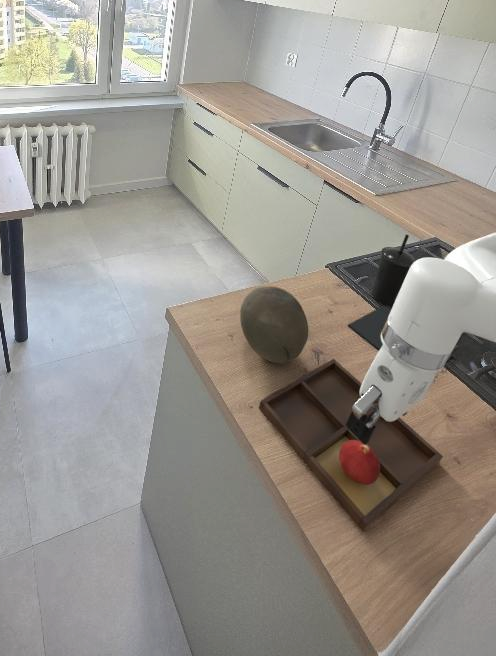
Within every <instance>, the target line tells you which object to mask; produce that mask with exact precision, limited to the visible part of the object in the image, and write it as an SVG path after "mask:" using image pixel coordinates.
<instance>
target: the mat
mask: <svg viewBox="0 0 496 656" xmlns="http://www.w3.org/2000/svg"><path fill="white" fill-rule="evenodd" d="M390 312H391V309H390V308H388V307H387V306H385V305H381V307H379V308H377V309H375V310H372V311H371V312H369V313H367V314H365V315H363V316H361V317H360V318H358V319H355V321H352V322H350V323H349V324H348V325H347V327H348V328H350V329H351V330H352V331H353V332H355V333H356V334H358V336H360V338H362V339H364V340H365V341H366V342H367V343H369V344H370V345H371V346H372V347H374V349H376V350H377V351H379V350H380V349H381V347H382V345H383V343H382V341H381V332H382V330H383V328H384V325H385V323H386V321H387V319H388V316H389V314H390ZM453 357H454V353H452V352H451V354H450V356H449V358H450V359H452V358H453ZM449 358H448V360H447V361H449V360H450V359H449Z"/></svg>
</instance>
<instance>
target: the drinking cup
mask: <svg viewBox="0 0 496 656" xmlns="http://www.w3.org/2000/svg"><path fill="white" fill-rule="evenodd" d="M409 237H410V235H409V234H405V235H404V238H403V241H402V243H401V246H400V248H398V247H393V246H385V247H383V248H381V250H380V258H379V263H378V267H377V271H376V276H375V279H374V283H373V287H372V292H371V297H372V298H373V299H374V300H375V301H376V302H378V304H379V303H380V304H382V305H384V306H385V305H386V306H391V305H393V304H394V303H395V300H396V298H397V296H398V294H399V291H400V289H401V287H402V284H403V282H404V280H405V278H406V275H407V273H408V271H409V269H410V267H411V265H412V264H413V263H414V262H415V261H416V260H417V259H416V257H415V256H414V255H412V254H411V253H409V252H408V251H406V250H405V247H406V244H407V242H408V240H409Z"/></svg>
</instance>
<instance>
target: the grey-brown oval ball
mask: <svg viewBox="0 0 496 656" xmlns="http://www.w3.org/2000/svg"><path fill="white" fill-rule="evenodd" d="M239 311H240V312H239V314H240V315H239V316H240V327H241V330H242V333H243V335H244V337H245V339H246V341H247V343H248V344H249V346H250V347H251V349H253V351H254V352H255V353H256V354H258V356H260V357H262V358H263V359H264V360H266V361H268V362H271V363H274V364H287V363H290V362H292V361H294V360H295V359H297V358H298V357H299V356H300V354H301V353H302V351H304V348H305V346H306V345H307V342H308V339H309V323H308V319H307V316H306V313H305V311H304V309H303V307H302V305H301V303H300V302H299V300H297V298H296V297H294V295H292V294H291V292H290V291H287V290H286V289H284V288H281V287H278V286H273V285H272V286H271V285H269V286H260V287H256V288H254V289H252V290H251V291H249V293H248V294H247V295H245V297H244V299H243V301H242V304H241V306H240V310H239Z"/></svg>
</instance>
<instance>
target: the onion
mask: <svg viewBox="0 0 496 656" xmlns="http://www.w3.org/2000/svg"><path fill="white" fill-rule="evenodd" d="M339 460H340V463H341V466H342V469H343V470H344V472H345V473H346V474H347V475H348V476H349V477H350V478H351V479H352V480H354V481H356V482H357V483H360V484H364V485H369V484H372V483H374V482H375V481H376V480H377V478H378V477H379V474H380V463H379V460H378V457H377V455H376V453H375V452H374V451H373V449H372V448H371V447H370V446H369V445H367V444H366V445H365V444H363V443H362V442H361V441H357V440H350V441H347V442H345V443H344V444H343V446H342V447H341V449H340V453H339Z"/></svg>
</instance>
